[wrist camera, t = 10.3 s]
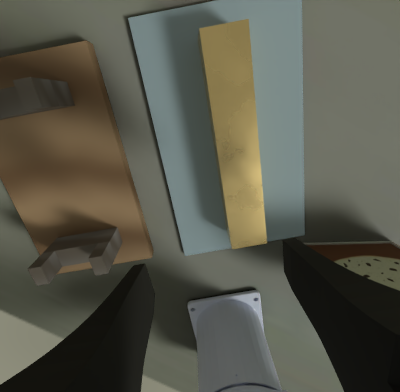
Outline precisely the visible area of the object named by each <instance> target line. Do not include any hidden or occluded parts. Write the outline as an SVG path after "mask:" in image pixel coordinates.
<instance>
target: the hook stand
mask: <svg viewBox="0 0 400 392" xmlns="http://www.w3.org/2000/svg"><path fill="white" fill-rule="evenodd" d="M0 178H1V180H2V182H3V184H4V186H5V188H6V189H7V191H8V193H9V195H10V197H11V199H12V201H13V203H14V205H15V207H16V209H17V211H18V213H19V215H20V217H21V219H22V221H23V223H24V225H25V227H26V229H27V231H28V232H29V234H30V236H31V238H32V240H33V242H34V244H35V246H36V248H37V250H38V252H39V254H40V256H39V258H38V259H37V260H36V261H35V262H34V263H33V264H32V265H31V266H30V267H29V268H28V271H29V272H30V274H31V276H32V278H33V280H34V282H35V283H36V285H37V286H38V285H44V284H50V282H51V281H52V280H53V278H54V277H55V276H56V274H60V273H66V272H72V271H78V270H84V269H89V268H92V269H93V271H94V274H95V276H97V275H102V274H108V273H109V271H110V269H111V266H112V265H113V264H118V263H124V262H130V261H136V260H142V259H147V258H152V255H153V251H154V250H153V247H152V243H151V240H150V237H149V233H148V230H147V226H146V223H145V220H144V216H143V213H142V210H141V206H140V203H139V199H138V196H137V193H136V189H135V186H134V182H133V179H132V176H131V172H130V169H129V165H128V162H127V159H126V155H125V152H124V149H123V145H122V142H121V138H120V135H119V132H118V128H117V125H116V121H115V118H114V115H113V111H112V108H111V104H110V101H109V98H108V94H107V91H106V88H105V84H104V81H103V77H102V74H101V71H100V67H99V64H98V60H97V57H96V54H95V50H94V47H93V44H91V43H90V42H88V41H81V42H76V43H71V44H66V45H61V46H56V47H51V48H46V49H41V50H36V51H30V52H25V53H20V54H15V55H10V56H5V57H0Z"/></svg>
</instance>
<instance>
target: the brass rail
mask: <svg viewBox="0 0 400 392" xmlns="http://www.w3.org/2000/svg"><path fill="white" fill-rule="evenodd" d="M198 46H199V52H200V59H201V66H202V72H203V79H204V85H205V92H206V98H207V105H208V111H209V118H210V124H211V131H212V138H213V144H214V151H215V157H216V164H217V170H218V177H219V183H220V190H221V196H222V203H223V209H224V216H225V223H226V229H227V234H228V237H229V241H230V244H231V248H232V249H237V248H243V247H249V246H254V245H260V244H266V243H267V236H266V224H265V212H264V200H263V187H262V175H261V163H260V151H259V139H258V126H257V114H256V102H255V90H254V78H253V65H252V53H251V41H250V29H249V19H244V20H239V21H234V22H229V23H224V24H219V25H214V26H209V27H204V28H199V33H198Z"/></svg>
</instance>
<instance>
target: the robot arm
mask: <svg viewBox="0 0 400 392" xmlns="http://www.w3.org/2000/svg"><path fill="white" fill-rule="evenodd" d="M283 257H284V272H285V275H286V277H287V279H288V282H289V284H290V286H291V289H292V291H293V292H294V294H295V296H296V298H297V299H298V301H299V303H300V304H301V306H302V308H303V309H304V311H305V313H306V315H307V316H308V318H309V320H310V321H311V323H312V325H313V326H314V328H315V330H316V332H317V334H318V335H319V337H320V339H321V341H322V343H323V346H324V348H325V350H326V352H327V354H328V356H329V358H330V360H331V363H332V365H333V367H334V369H335V372H336V374H337V376H338V378H339V381H340V383H341V385H342V387H343V390H344V392H400V290H397V289H394V288H391V287H389V286H386V285H383V284H380V283H378V282H375V281H373V280H371V279H368V278H366V277H364V276H362V275H359V274H357V273H355V272H353V271H351V270H349V269H347V268H345V267H343V266H341V265H339V264H337V263H335V262H334V261H332V260H330V259H328V258H326V257H325V256H323V255H321V254H320V253H318V252H316V251H315V250H313V249H312V248H310V247H308V246H307V245H305V244H304V243H302V242H301V241H299V240H297V239H296V238H291V239H285V240H283ZM154 299H155V293H154V290H153V286H152V283H151V280H150V277H149V274H148V271H147V268H146V264H140V265H134V266H133V267H132V268H131V269H130V271H129V272H128V273H127V274H126V276H125V277H124V278H123V279H122V281H121V282H120V283H119V284H118V285H117V287H116V288H115V289H114V290H113V292H112V293H111V294H110V295H109V296H108V297H107V298H106V299H105V301H104V302H103V303H102V304H101V305H100V306H99V307H98V308H97V309H96V310H95V312H94V313H93V314H92V315H91V316H90V317H89V318H88V319H86V320H85V321H84V322H83V323H82V324H81V325H80V326H79V327H78V328H77V329H76V330H75V331H73V332H72V333H71V334H70V335H69V336H67V337H66V338H65V339H64V340H63V341H61V342H60V343H59V344H58V345H57V346H55V347H54V348H53V349H52V350H50V351H49V352H48V353H46V354H45V355H44V356H42V357H41V358H39V359H38V360H37V361H35V362H34V363H33V364H31V365H30V366H28V367H27V368H25V369H24V370H22V371H21V372H19V373H18V374H16V375H15V376H13V377H12V378H10V379H9V380H7V381H6V382H4V383H3V384H1V385H0V392H141V383H142V373H143V365H144V359H145V353H146V348H147V343H148V338H149V333H150V328H151V323H152V318H153V313H154ZM192 308H194V309H192ZM188 311H189V314H190V318H191V322H192V326H193V330H194V334H195V338H196V342H197V359H198V389H199V392H287V390H282V388H281V385H280V382H279V379H278V376H277V373H276V370H275V366H274V363H273V360H272V357H271V354H270V351H269V348H268V345H267V341H266V338H265V335H264V328H263V318H262V309H261V299H260V293H259V291H257V290H252V291H246V292H240V293H234V294H228V295H222V296H216V297H210V298H204V299H198V300H192V301H189V302H188Z"/></svg>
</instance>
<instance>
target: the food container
mask: <svg viewBox="0 0 400 392" xmlns="http://www.w3.org/2000/svg"><path fill="white" fill-rule="evenodd" d="M304 244H305V245H307V246H308V247H310V248H312V249H313V250H315V251H316V252H318V253H320V254H321V255H323V256H325V257H326V258H328V259H330V260H332V261H334V262H335V263H337V264H339V265H341V266H343V267H345V268H347V269H349V270H351V271H353V272H355V273H357V274H359V275H362V276H364V277H366V278H368V279H371V280H373V281H375V282H378V283H380V284H383V285H386V286H389V287H391V288H394V289H397V290H400V246H398V245H397V244H395V243H394V242H392V241H363V242H317V243H304Z"/></svg>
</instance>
